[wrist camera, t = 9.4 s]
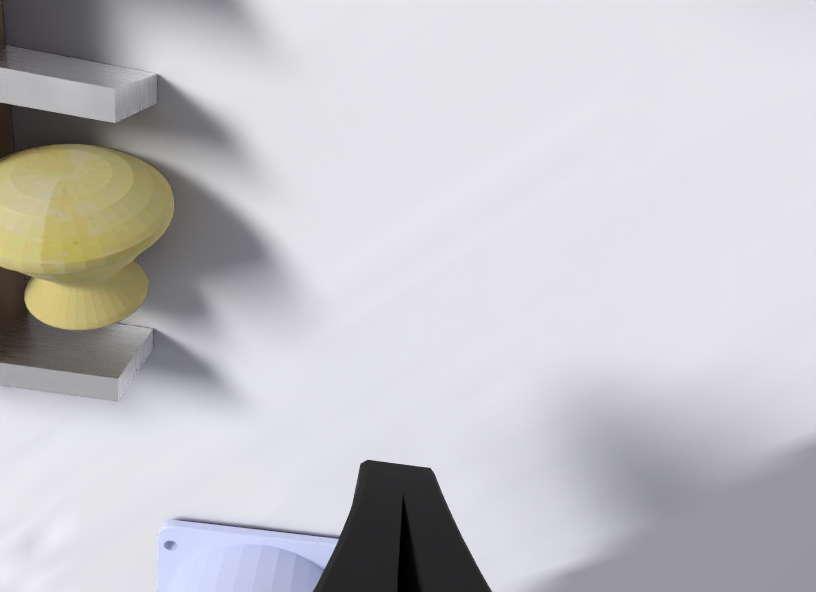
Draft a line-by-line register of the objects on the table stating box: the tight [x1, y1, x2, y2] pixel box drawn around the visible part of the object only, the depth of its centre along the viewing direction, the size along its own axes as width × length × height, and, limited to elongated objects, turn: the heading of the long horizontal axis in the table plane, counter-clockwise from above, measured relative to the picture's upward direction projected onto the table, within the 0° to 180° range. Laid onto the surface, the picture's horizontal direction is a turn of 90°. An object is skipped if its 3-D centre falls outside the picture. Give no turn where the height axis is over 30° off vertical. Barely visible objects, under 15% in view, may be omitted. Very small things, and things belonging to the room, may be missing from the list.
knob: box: [0, 144, 174, 330], centre depth 17 cm, size 5×5×5 cm
